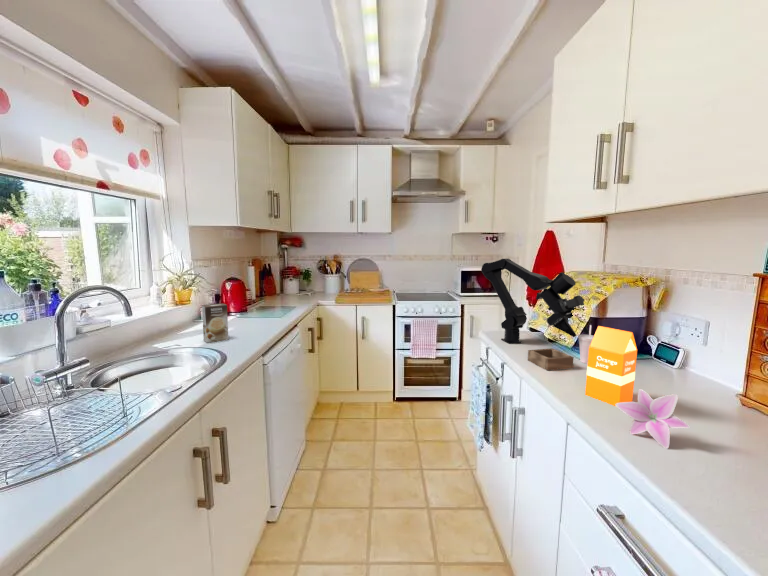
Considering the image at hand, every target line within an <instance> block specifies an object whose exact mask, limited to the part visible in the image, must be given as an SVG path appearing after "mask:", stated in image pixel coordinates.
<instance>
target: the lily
mask: <svg viewBox="0 0 768 576" xmlns="http://www.w3.org/2000/svg"><path fill="white" fill-rule="evenodd" d="M637 391H638V392H637V401H631V402H620V403H616V404H615V406H614V407H616V408H617V409H618V410H619V411H621V412H623V414H625V415H626V416H628V417H630V418H631V419H633V421H632V422H631V425H630V428H629V432H628V433H629V435H636V434H638V435H639V434H641V433H644V432H648V434H649V435H650V436H651V437H652V438H653V439H654V440H655V441H656V442H657V443H658V444H659V446H660V447H662V448H664V449H667V450H668V449H669V447H670V439H671V438H670V435H671V432H670V429H690V428H691V426H690V425H689V423H687V422H685V421H684V420H683V419H680V418H679V417H677V416H676V415H675V414H673V413H674V411H675V408H676V406H677V403H678V400H679V395H678V394H676V393H673V394H671V393H670V394H666V395H663V396H659V397H656V398H655V399H653V398H652V397H651V396H650V394H649V393H648V392H646V391H645V390H643V389H642V388H639V389H638V390H637Z"/></svg>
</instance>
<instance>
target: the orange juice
mask: <svg viewBox="0 0 768 576" xmlns="http://www.w3.org/2000/svg"><path fill="white" fill-rule="evenodd" d="M593 336H594V337H593V339H592V342H591V344H590V346H589V355H588V364H587V366H586V379H585V380H586V381H585V390H584V391H585V394H584V396H587V397H589V396H590V398H593V399H595V400H597V399H598V400H597V401H600V400H601V401H600V402H603V403H605V402H606V404H609V405H612V406H613V407H616V406H615V404H616V403H620V402H633V397H634V387H635V379H636V367H637V356H638V348H637V344H636V340H635V336H634V333H633V332H632V331H628V330H623V329H617V328H612V327H608V326H602V325H598V326H597V328H596V330H595V333H594V335H593Z"/></svg>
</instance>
